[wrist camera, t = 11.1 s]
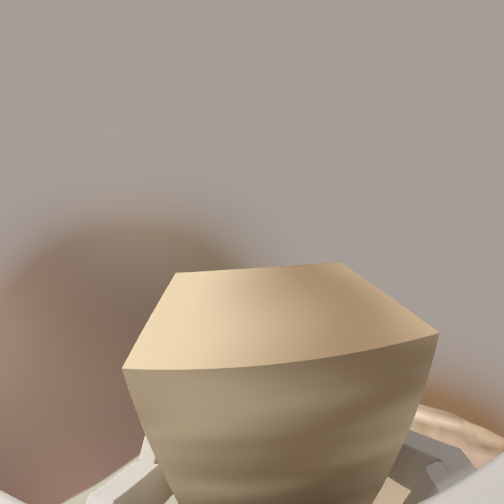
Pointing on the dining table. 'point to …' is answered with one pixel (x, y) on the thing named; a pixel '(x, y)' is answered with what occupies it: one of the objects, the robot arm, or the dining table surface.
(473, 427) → the dining table surface
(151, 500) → the robot arm
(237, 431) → the oak block
